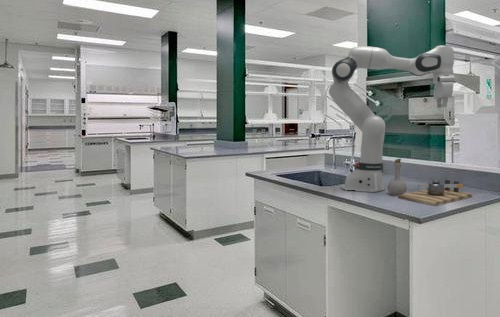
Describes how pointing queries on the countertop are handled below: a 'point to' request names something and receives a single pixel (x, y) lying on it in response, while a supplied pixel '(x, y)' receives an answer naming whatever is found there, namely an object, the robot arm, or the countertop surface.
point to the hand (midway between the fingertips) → (441, 107)
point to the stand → (436, 196)
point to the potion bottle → (397, 181)
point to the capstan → (438, 187)
